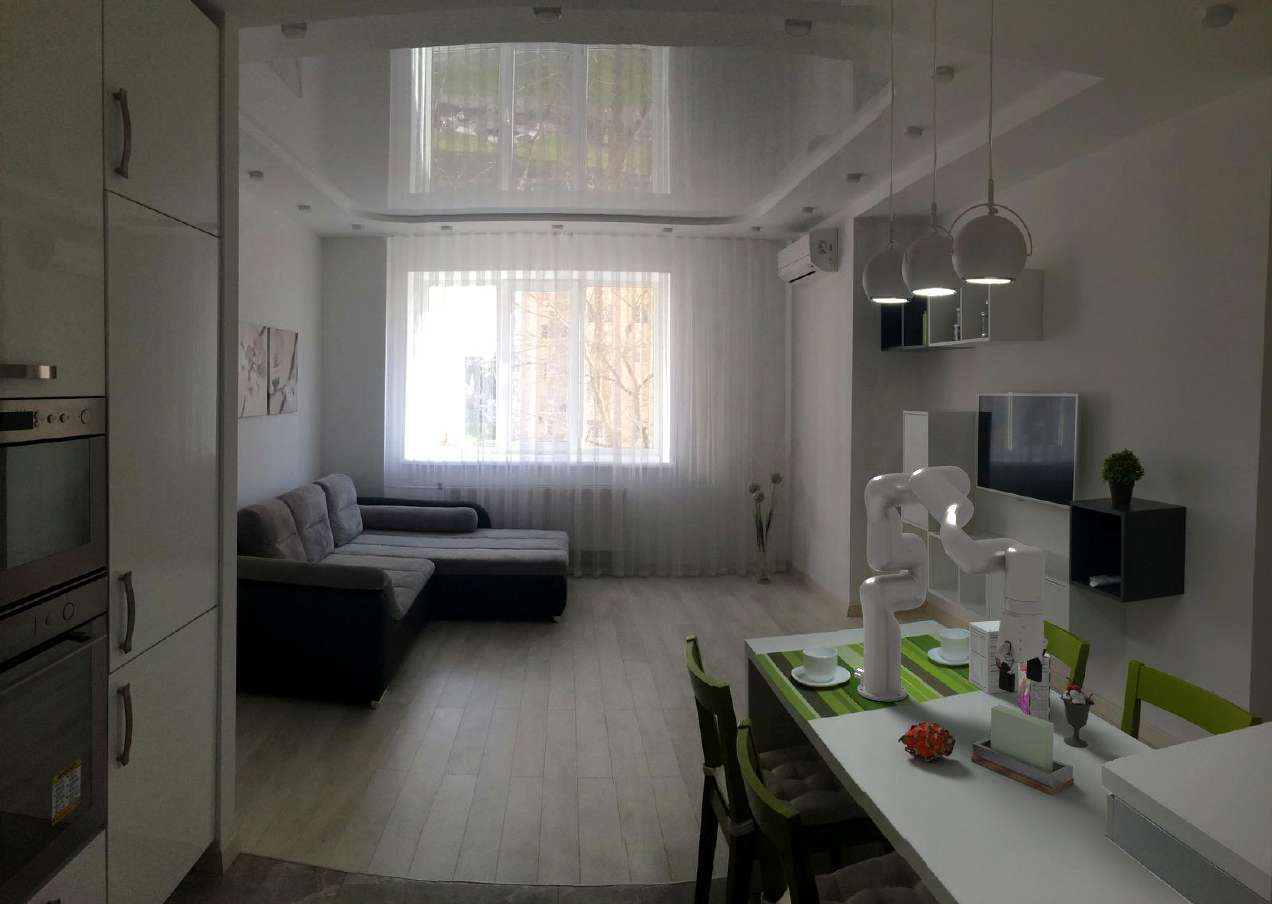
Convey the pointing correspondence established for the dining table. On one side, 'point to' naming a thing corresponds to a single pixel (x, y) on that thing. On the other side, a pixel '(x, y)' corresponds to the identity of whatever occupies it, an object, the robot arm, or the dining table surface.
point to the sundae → (1076, 712)
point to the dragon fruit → (928, 741)
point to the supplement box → (985, 657)
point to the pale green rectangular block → (1022, 737)
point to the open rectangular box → (1023, 768)
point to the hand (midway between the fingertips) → (1020, 685)
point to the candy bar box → (1035, 691)
